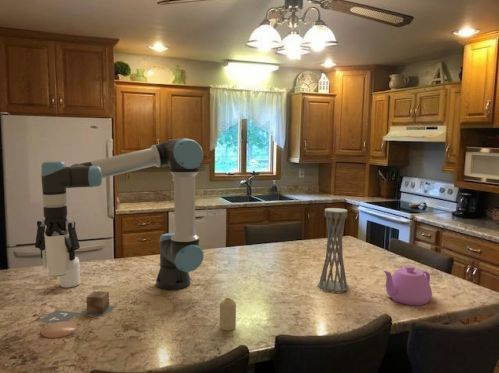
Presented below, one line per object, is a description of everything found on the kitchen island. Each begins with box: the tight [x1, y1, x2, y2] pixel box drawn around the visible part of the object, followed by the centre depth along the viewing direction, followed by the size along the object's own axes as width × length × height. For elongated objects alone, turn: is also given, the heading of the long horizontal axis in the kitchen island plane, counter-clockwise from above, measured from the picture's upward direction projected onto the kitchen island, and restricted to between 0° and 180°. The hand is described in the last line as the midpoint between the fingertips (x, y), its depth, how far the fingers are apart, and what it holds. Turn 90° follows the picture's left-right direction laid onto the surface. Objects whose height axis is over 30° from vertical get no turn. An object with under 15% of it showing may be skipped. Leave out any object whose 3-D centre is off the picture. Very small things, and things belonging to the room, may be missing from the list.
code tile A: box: [37, 309, 80, 324], centre depth 148 cm, size 10×10×1 cm
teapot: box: [383, 265, 433, 306], centre depth 171 cm, size 25×18×14 cm
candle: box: [219, 297, 237, 331], centre depth 142 cm, size 6×6×10 cm
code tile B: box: [78, 304, 117, 318], centre depth 155 cm, size 10×10×1 cm
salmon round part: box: [40, 320, 78, 339], centre depth 138 cm, size 11×11×1 cm
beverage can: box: [59, 256, 81, 289], centre depth 181 cm, size 8×8×12 cm
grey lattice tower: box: [317, 207, 349, 293], centre depth 182 cm, size 14×13×35 cm
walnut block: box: [86, 290, 110, 313], centre depth 155 cm, size 6×6×6 cm
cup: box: [44, 232, 69, 278], centre depth 146 cm, size 7×7×15 cm
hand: (58, 268), depth 147 cm, fingers closed on cup, 9 cm apart
